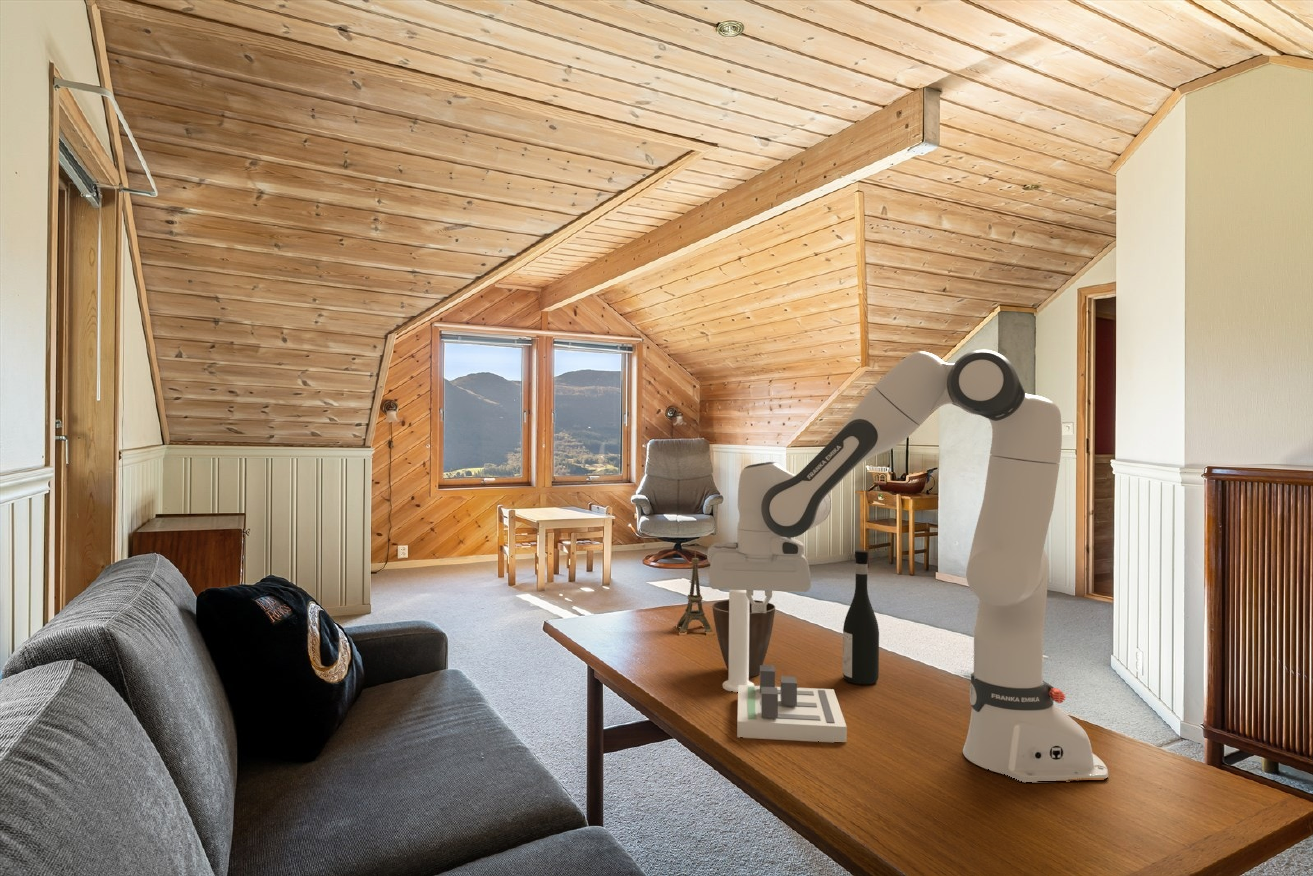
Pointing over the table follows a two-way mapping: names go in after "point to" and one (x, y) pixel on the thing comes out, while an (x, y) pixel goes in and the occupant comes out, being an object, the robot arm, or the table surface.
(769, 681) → the handle
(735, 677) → the candle
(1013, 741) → the robot arm
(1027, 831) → the table surface
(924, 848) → the table surface
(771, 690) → the handle
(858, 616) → the wine bottle
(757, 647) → the plant pot
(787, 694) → the handle
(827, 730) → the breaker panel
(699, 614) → the eiffel tower
